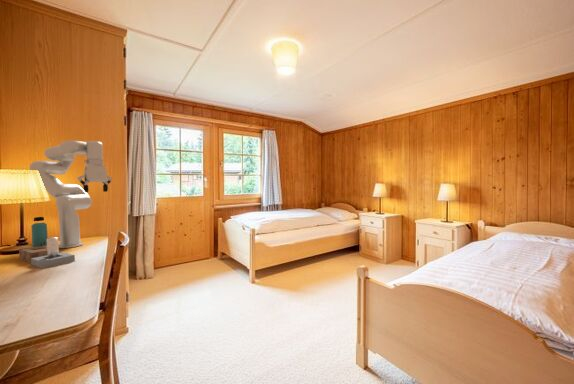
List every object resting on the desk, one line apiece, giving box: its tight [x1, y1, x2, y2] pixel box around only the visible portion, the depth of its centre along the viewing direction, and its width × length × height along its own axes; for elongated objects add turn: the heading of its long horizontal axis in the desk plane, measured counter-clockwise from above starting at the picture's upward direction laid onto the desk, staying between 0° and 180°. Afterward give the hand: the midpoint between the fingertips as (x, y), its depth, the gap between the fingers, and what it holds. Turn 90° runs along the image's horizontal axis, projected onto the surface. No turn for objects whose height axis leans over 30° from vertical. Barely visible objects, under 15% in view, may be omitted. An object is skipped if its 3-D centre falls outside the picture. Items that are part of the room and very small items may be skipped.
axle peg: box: [47, 236, 60, 259], centre depth 119 cm, size 4×4×12 cm
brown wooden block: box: [18, 245, 47, 264], centre depth 127 cm, size 16×10×5 cm, turn 61°
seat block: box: [30, 251, 76, 269], centre depth 119 cm, size 12×12×3 cm
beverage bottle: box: [31, 216, 49, 247], centre depth 139 cm, size 6×7×20 cm
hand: (96, 191), depth 147 cm, fingers open, 9 cm apart
